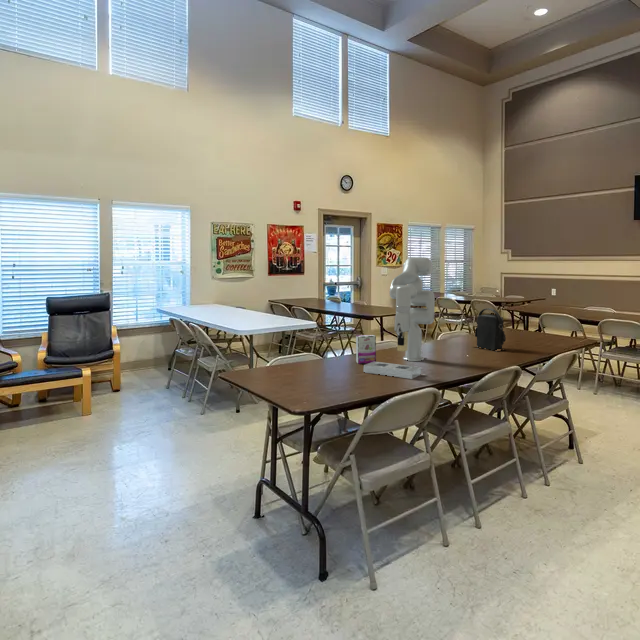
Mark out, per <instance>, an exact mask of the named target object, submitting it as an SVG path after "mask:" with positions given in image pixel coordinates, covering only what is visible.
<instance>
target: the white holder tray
mask: <svg viewBox="0 0 640 640" xmlns="http://www.w3.org/2000/svg"><path fill="white" fill-rule="evenodd" d="M364 372H365V374H371V375H378V374H380V375H379V376H385V375H387V376H386V377H392V376H394V378H401V379H409V380H413V379H415V378H417V377H419V376H421V375H422V367H421V366H414V365H407V364H400V363H397V364H396V363H390V362H384V361H383V362H381V361H376V362H375V361H373V362H371V363H366V364H363V373H364ZM420 374H421V375H420Z"/></svg>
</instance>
